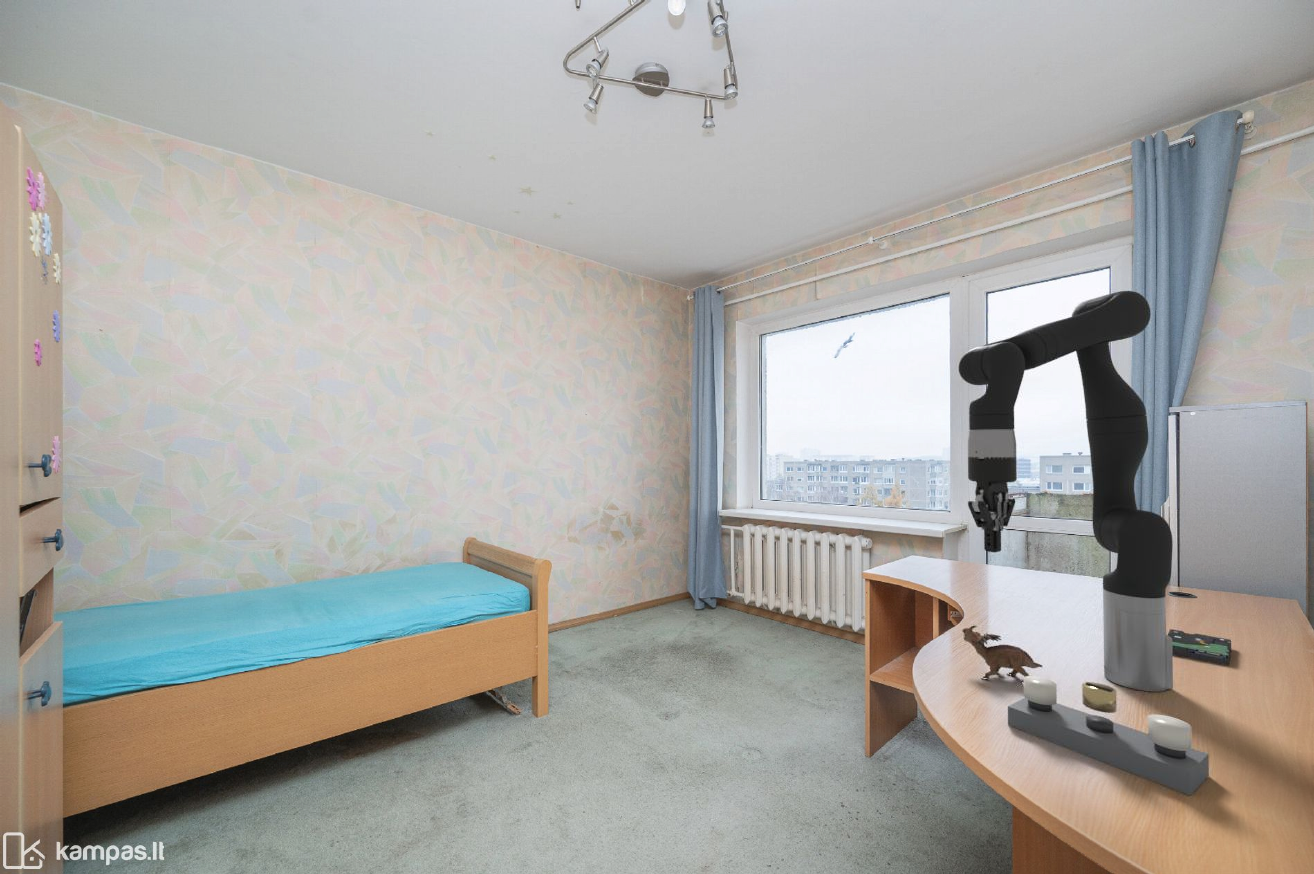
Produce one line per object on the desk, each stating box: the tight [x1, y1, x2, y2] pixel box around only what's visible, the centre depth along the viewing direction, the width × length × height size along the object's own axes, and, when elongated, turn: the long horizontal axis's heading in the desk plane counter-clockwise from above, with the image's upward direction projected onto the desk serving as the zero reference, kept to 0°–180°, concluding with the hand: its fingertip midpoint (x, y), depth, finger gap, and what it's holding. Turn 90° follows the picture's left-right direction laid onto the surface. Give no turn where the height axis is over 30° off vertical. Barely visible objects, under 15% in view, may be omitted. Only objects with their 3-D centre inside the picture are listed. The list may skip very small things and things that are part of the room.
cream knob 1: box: [1023, 675, 1058, 705], centre depth 90 cm, size 4×4×3 cm
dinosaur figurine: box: [962, 625, 1043, 683], centre depth 109 cm, size 14×6×9 cm, turn 67°
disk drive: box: [1166, 628, 1232, 667], centre depth 124 cm, size 10×3×15 cm
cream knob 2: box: [1147, 714, 1193, 751], centre depth 77 cm, size 4×4×3 cm
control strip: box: [1007, 697, 1210, 796], centre depth 83 cm, size 22×8×4 cm, turn 33°
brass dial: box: [1081, 681, 1118, 714], centre depth 84 cm, size 4×4×3 cm
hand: (992, 551), depth 100 cm, fingers closed
